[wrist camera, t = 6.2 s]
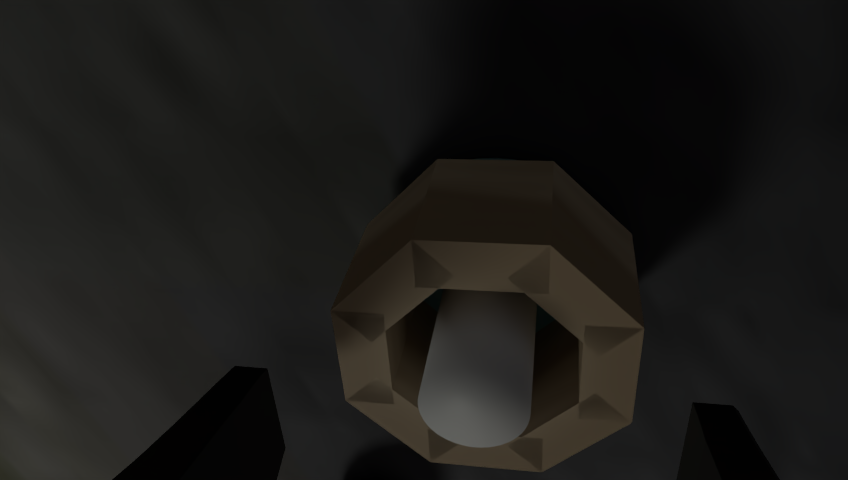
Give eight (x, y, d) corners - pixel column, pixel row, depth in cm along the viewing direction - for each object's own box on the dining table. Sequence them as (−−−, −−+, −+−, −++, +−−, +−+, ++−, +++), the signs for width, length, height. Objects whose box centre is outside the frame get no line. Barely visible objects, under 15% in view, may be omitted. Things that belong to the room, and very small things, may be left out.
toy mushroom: (617, 160, 15) (635, 306, 11) (598, 344, 18) (606, 513, 14) (381, 154, 16) (318, 287, 12) (397, 331, 19) (351, 486, 15)
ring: (639, 162, 14) (655, 249, 12) (616, 375, 17) (624, 479, 15) (359, 157, 15) (318, 236, 13) (383, 359, 18) (355, 455, 16)
